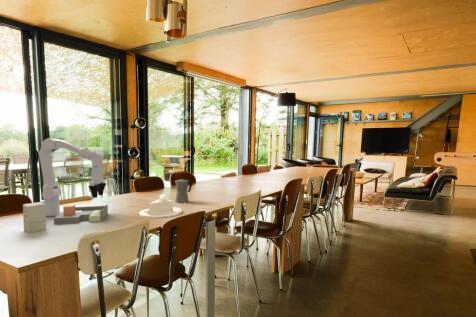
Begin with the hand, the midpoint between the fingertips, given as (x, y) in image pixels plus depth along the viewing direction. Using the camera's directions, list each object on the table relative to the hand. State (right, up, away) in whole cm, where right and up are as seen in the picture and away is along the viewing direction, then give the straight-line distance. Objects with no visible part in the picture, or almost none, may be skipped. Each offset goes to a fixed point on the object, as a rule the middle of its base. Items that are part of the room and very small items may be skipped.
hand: (97, 196), depth 170 cm
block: (-8, -8, -14) cm, 18 cm away
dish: (+37, -11, +2) cm, 39 cm away
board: (-3, -11, -12) cm, 17 cm away
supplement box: (-14, -12, -33) cm, 38 cm away
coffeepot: (+44, -9, +34) cm, 56 cm away
